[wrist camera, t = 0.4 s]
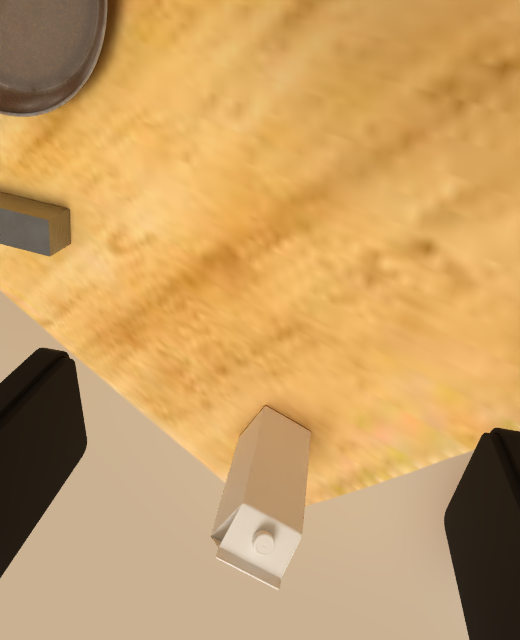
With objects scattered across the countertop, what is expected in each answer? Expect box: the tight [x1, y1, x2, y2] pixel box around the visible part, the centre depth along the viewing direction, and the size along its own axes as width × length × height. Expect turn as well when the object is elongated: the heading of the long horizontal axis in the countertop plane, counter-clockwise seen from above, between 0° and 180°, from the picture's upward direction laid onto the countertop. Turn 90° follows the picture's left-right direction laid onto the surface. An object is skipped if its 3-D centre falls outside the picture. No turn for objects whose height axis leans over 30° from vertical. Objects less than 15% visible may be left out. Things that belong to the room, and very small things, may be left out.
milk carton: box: [211, 406, 311, 590], centre depth 50 cm, size 7×7×19 cm
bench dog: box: [0, 192, 71, 256], centre depth 47 cm, size 4×10×4 cm, turn 79°
